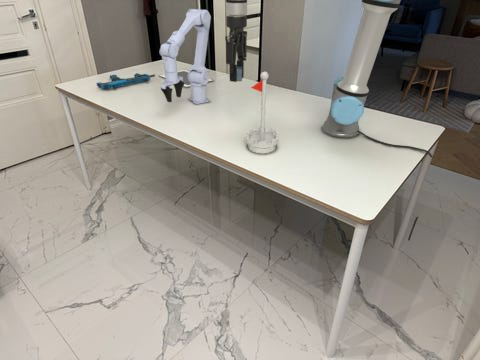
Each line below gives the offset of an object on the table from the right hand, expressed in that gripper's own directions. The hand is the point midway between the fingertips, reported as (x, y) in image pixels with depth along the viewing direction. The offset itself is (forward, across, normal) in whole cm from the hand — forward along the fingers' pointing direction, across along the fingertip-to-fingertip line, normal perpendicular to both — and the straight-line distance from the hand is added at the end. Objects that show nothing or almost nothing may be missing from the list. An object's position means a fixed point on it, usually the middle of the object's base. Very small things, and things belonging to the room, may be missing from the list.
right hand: (236, 79), depth 136 cm
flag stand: (+23, +8, +15) cm, 29 cm away
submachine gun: (+24, -34, -95) cm, 104 cm away
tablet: (+24, -57, -66) cm, 90 cm away
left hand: (+17, -7, -38) cm, 42 cm away
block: (0, 0, 0) cm, 0 cm away
